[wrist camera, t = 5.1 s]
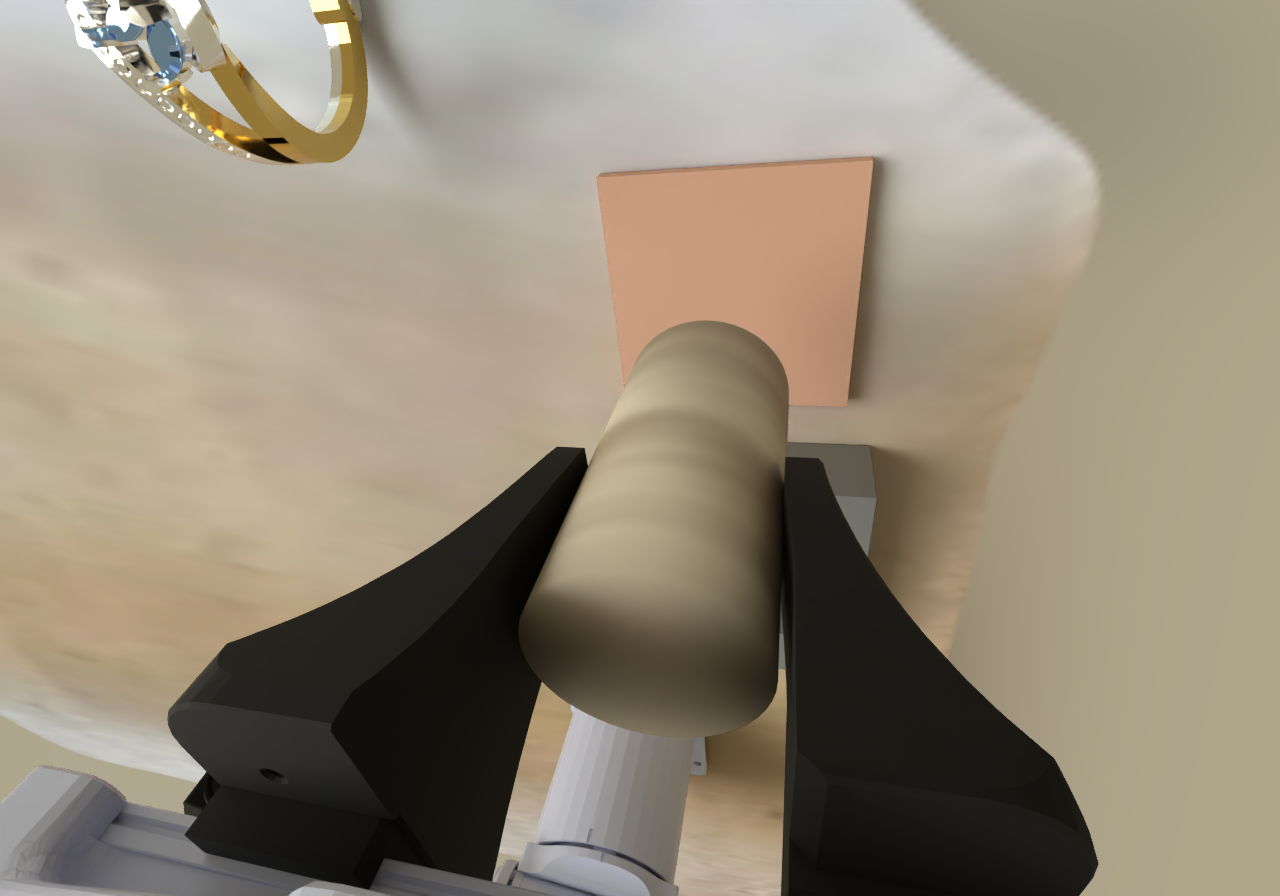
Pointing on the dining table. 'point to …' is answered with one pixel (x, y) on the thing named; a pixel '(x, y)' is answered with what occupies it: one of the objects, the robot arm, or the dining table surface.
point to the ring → (227, 76)
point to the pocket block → (843, 491)
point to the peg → (673, 545)
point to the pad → (744, 260)
